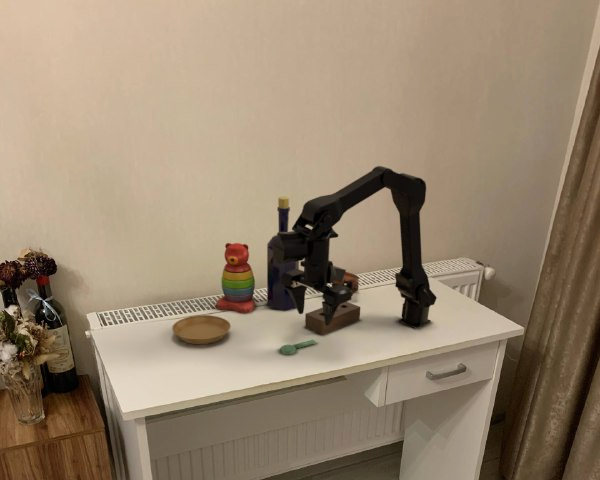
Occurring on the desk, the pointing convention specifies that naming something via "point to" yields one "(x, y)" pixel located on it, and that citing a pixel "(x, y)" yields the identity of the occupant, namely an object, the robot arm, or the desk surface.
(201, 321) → the plant saucer
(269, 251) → the bottle
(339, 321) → the holder
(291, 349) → the spoon
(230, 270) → the stacking bear
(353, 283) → the pottery mug
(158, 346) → the desk surface
